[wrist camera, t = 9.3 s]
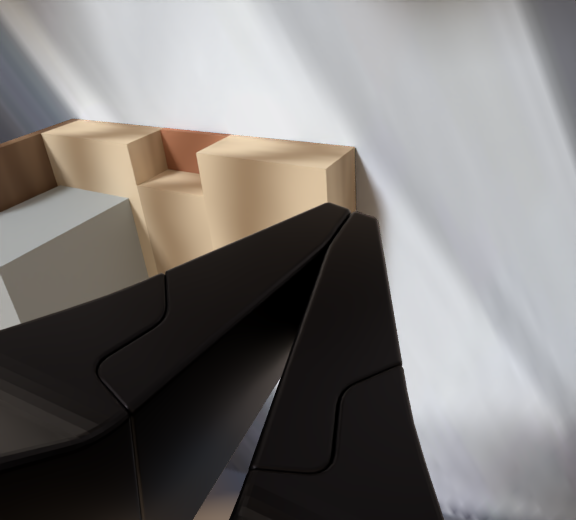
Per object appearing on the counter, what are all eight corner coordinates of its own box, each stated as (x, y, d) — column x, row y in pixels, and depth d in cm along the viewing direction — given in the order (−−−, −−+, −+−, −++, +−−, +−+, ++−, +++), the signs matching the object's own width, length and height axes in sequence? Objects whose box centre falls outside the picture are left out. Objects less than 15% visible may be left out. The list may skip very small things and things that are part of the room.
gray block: (128, 198, 26) (-3, 268, 21) (150, 285, 28) (38, 366, 23) (60, 185, 28) (-72, 244, 23) (86, 266, 31) (-28, 336, 26)
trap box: (354, 146, 21) (248, 228, 16) (359, 353, 26) (280, 468, 21) (72, 118, 29) (-64, 166, 23) (119, 281, 34) (17, 351, 29)
